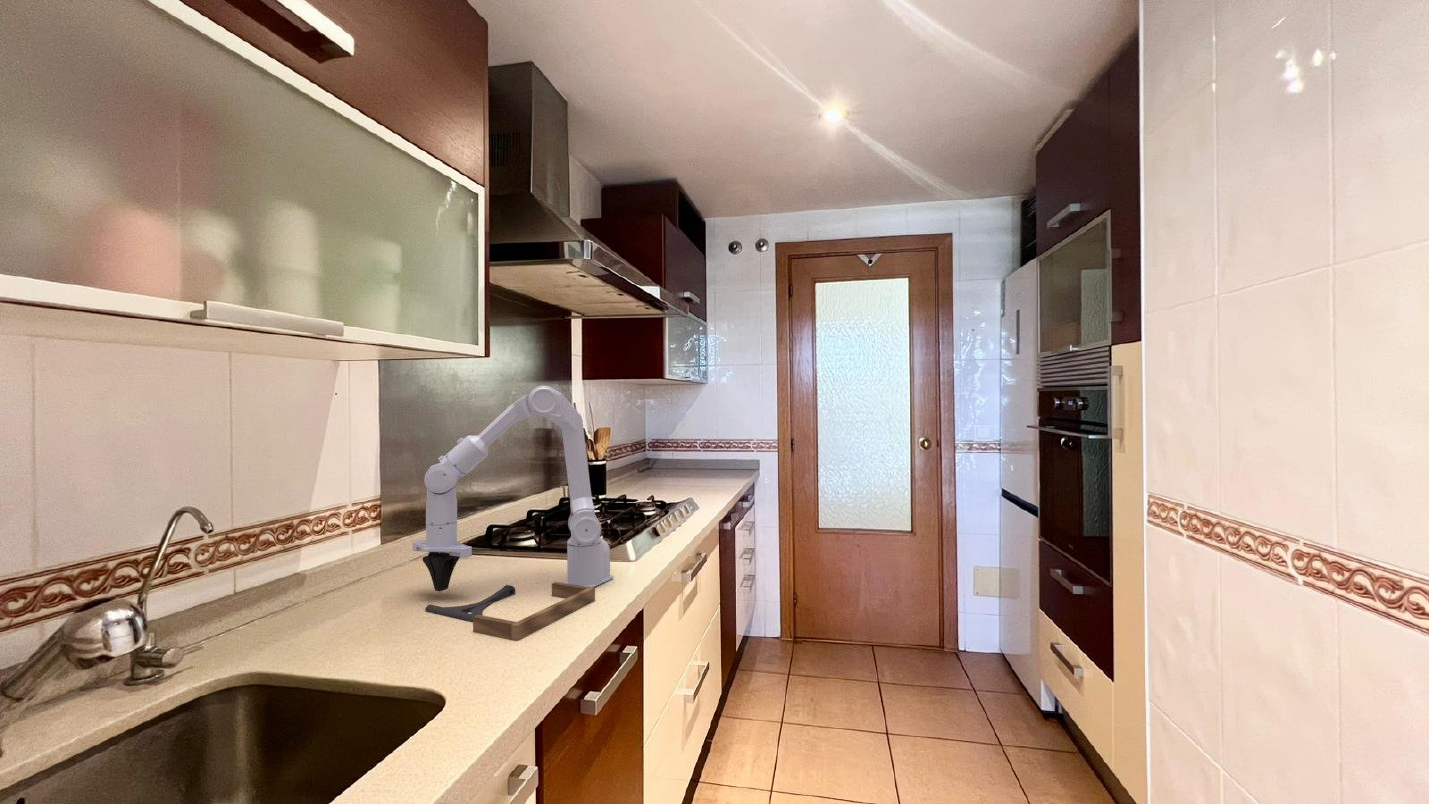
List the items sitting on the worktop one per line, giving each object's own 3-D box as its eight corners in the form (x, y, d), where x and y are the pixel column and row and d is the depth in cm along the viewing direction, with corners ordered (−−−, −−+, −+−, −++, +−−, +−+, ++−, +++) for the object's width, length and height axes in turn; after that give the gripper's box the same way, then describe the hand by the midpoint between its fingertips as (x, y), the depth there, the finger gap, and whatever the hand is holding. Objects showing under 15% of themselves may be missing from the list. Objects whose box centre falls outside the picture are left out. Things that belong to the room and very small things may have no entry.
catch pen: (555, 594, 118) (555, 581, 118) (595, 600, 114) (595, 587, 114) (473, 631, 98) (473, 616, 98) (517, 640, 94) (517, 625, 94)
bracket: (539, 602, 115) (539, 588, 115) (479, 627, 102) (479, 612, 102) (488, 592, 121) (488, 579, 121) (425, 615, 108) (424, 600, 108)
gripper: (399, 523, 116) (398, 590, 115) (451, 529, 110) (451, 600, 109) (429, 517, 122) (429, 581, 122) (480, 522, 116) (480, 589, 116)
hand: (441, 589), depth 116 cm, fingers closed
